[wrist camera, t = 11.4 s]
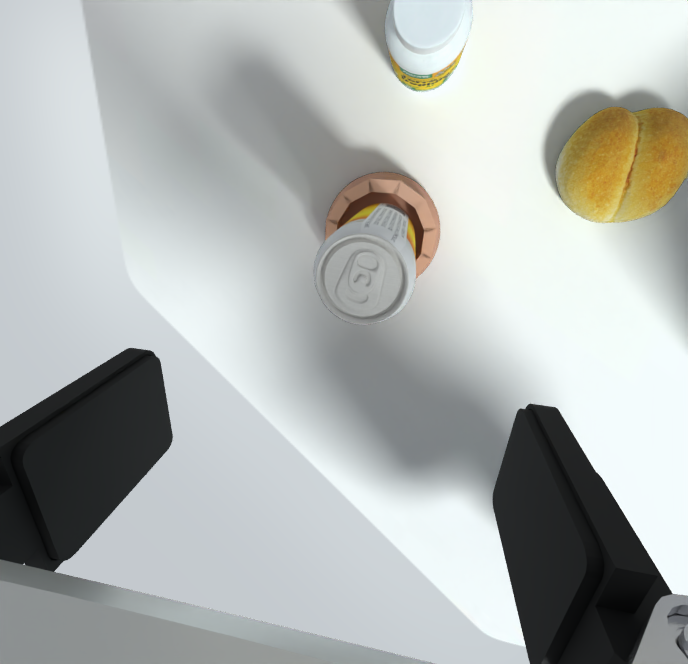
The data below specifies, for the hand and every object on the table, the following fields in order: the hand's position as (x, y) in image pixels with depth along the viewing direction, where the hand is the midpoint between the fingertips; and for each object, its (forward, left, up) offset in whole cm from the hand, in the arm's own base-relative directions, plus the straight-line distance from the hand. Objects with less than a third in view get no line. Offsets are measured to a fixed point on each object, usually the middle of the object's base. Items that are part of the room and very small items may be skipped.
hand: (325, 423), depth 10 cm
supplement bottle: (+15, -1, -29) cm, 32 cm away
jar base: (+1, +1, -28) cm, 28 cm away
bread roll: (+7, -17, -29) cm, 34 cm away
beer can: (0, +1, -28) cm, 28 cm away
